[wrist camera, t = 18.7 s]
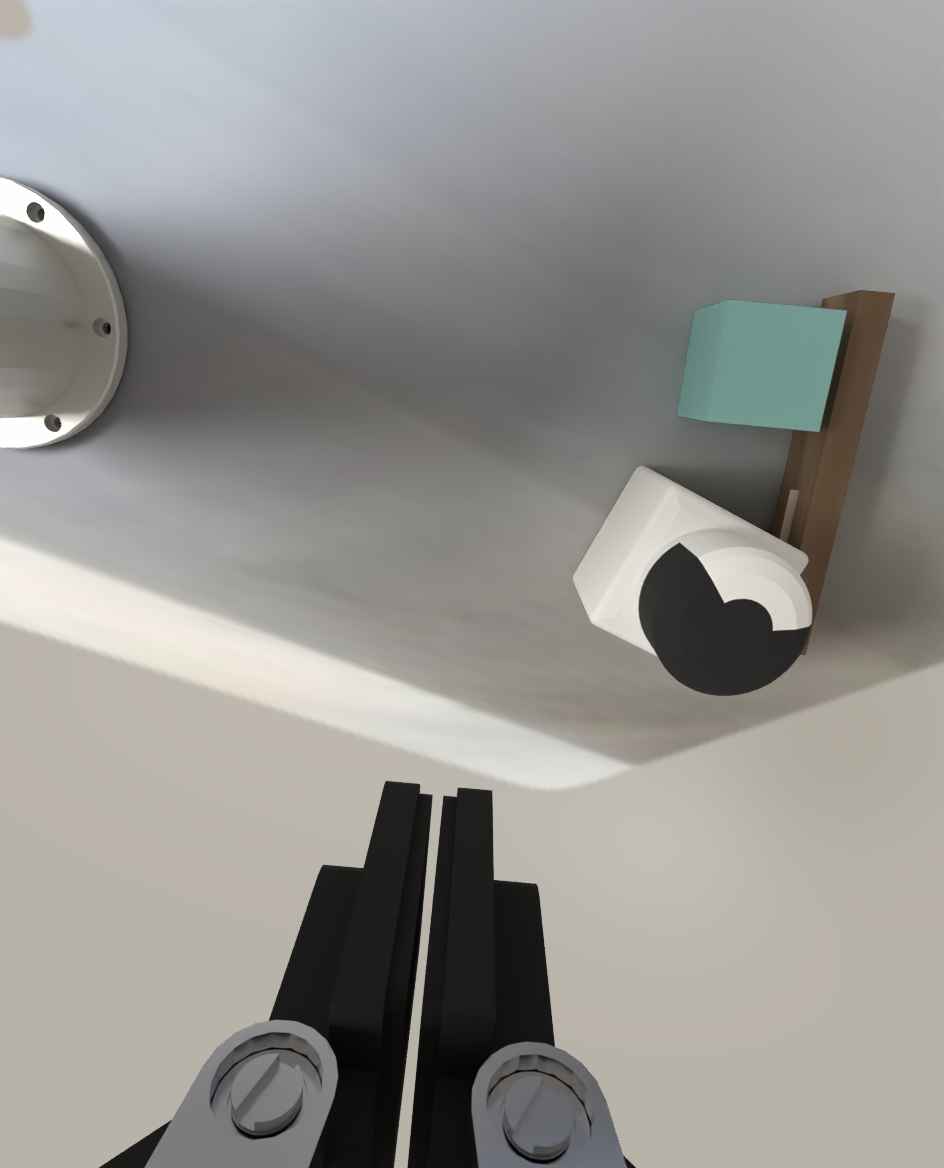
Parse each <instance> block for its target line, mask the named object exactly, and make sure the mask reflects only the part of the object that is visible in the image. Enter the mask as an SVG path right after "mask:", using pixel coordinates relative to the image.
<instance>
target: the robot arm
mask: <svg viewBox="0 0 944 1168" xmlns="http://www.w3.org/2000/svg"><path fill="white" fill-rule="evenodd" d="M44 213H45V219H44V218H43V214H44ZM109 324H110V327H111V332H110V333H109V332H108V330H107V326H108V325H109ZM126 354H127V320H126V314H125V309H124V303H123V298H122V295H121V292H120V290H119V287H118V284H117V281H116V279H115V276H114V273H113V271H112V269H111V267H110V266H109V264H108V262H107V260H106V258H105V257H104V255H103V253H102V251H101V249H100V248H99V246H98V245H97V244H96V242H95V241H94V240H93V239H92V237H91V236H90V235H89V234H88V232H87V231H86V230H85V229H84V227H83V226H82V225H81V224H80V223H79V222H78V221H77V220H76V219H75V218H74V217H72V216H71V215H70V214H69V213H68V212H67V211H66V210H65V209H64V208H63V207H61V206H60V205H59V204H57V203H56V202H54V201H53V200H51V199H49V198H48V197H46V196H45V195H43V194H42V193H40V192H39V191H37V190H35V189H32V188H30V187H28V186H26V185H23V184H21V183H19V182H17V181H15V180H12V179H9V178H6V177H2V176H0V449H28V448H35V447H41V446H47V445H50V444H53V443H56V442H60V441H63V440H66V439H68V438H70V437H72V436H73V435H75V434H77V433H78V432H80V431H82V430H84V429H85V428H87V427H88V426H89V425H90V424H91V423H92V422H93V421H94V420H95V419H96V418H97V417H98V416H99V415H100V414H101V413H102V412H103V411H104V409H105V408H106V406H107V405H108V403H109V402H110V400H111V399H112V397H113V396H114V394H115V392H116V389H117V387H118V384H119V382H120V379H121V377H122V374H123V370H124V365H125V360H126ZM59 420H61V423H62V426H61V425H60V422H59ZM431 808H432V795H429V794H420V784H414V783H402V782H392V781H386V782H385V785H384V788H383V792H382V796H381V800H380V805H379V808H378V812H377V816H376V820H375V824H374V829H373V832H372V836H371V840H370V844H369V848H368V852H367V856H366V861H365V865H364V868H354V867H343V866H331V865H323V866H322V867H321V870H320V872H319V874H318V877H317V880H316V883H315V886H314V889H313V892H312V895H311V898H310V901H309V903H308V906H307V909H306V913H305V915H304V918H303V921H302V924H301V927H300V930H299V933H298V936H297V939H296V942H295V945H294V948H293V951H292V954H291V957H290V960H289V963H288V965H287V969H286V971H285V974H284V977H283V980H282V984H281V987H280V989H279V992H278V995H277V998H276V1001H275V1004H274V1007H273V1010H272V1013H271V1016H270V1019H269V1021H267V1022H262V1023H256V1024H254V1025H251V1026H249V1027H247V1028H245V1029H243V1030H241V1031H239V1032H237V1033H235V1034H233V1035H232V1036H231V1037H230V1038H228V1039H227V1040H226V1041H225V1042H224V1043H222V1044H221V1045H220V1046H218V1047H217V1048H216V1050H215V1051H214V1052H213V1054H212V1055H211V1056H210V1058H209V1059H208V1060H207V1062H206V1063H205V1064H204V1065H203V1067H202V1069H201V1070H200V1072H199V1074H198V1076H197V1077H196V1079H195V1081H194V1083H193V1084H192V1086H191V1088H190V1090H189V1091H188V1093H187V1095H186V1096H185V1098H184V1100H183V1102H182V1104H181V1105H180V1107H179V1109H178V1110H177V1112H176V1114H175V1116H174V1117H173V1119H172V1120H171V1121H169V1122H168V1123H166V1124H165V1125H163V1126H162V1127H160V1128H159V1129H157V1130H155V1131H154V1132H152V1133H151V1134H150V1135H148V1136H146V1137H145V1138H143V1139H142V1140H140V1141H139V1142H137V1143H136V1144H134V1145H133V1146H131V1147H130V1148H128V1149H127V1150H125V1151H124V1152H122V1153H120V1154H119V1155H118V1156H116V1157H114V1158H113V1159H111V1160H110V1161H108V1162H107V1163H105V1164H104V1165H102V1166H101V1167H99V1168H394V1161H395V1153H396V1144H397V1134H398V1127H399V1118H400V1110H401V1101H402V1092H403V1084H404V1075H405V1067H406V1058H407V1050H408V1041H409V1033H410V1032H409V1031H410V1024H411V1016H412V1007H413V998H414V990H415V981H416V972H417V964H418V955H419V945H420V935H421V924H422V912H423V900H424V889H425V877H426V865H427V854H428V843H429V831H430V819H431ZM493 870H494V868H493V806H492V791H491V790H480V789H469V788H458V791H457V797H451V796H443V806H442V817H441V826H440V836H439V846H438V856H437V865H436V875H435V885H434V895H433V905H432V915H431V926H430V935H429V944H428V955H427V964H426V974H425V985H424V995H423V1004H422V1015H421V1025H420V1037H419V1047H418V1058H417V1070H416V1081H415V1091H414V1102H413V1114H412V1125H411V1136H410V1147H409V1158H408V1168H636V1167H635V1166H633V1164H631V1163H630V1162H629V1161H628V1160H627V1159H626V1158H625V1157H624V1156H623V1153H622V1150H621V1147H620V1144H619V1140H618V1137H617V1134H616V1131H615V1128H614V1125H613V1121H612V1118H611V1115H610V1112H609V1108H608V1105H607V1102H606V1100H605V1097H604V1095H603V1093H602V1091H601V1089H600V1087H599V1085H598V1082H597V1081H596V1079H595V1078H594V1077H593V1076H592V1074H591V1073H590V1072H589V1071H588V1070H587V1068H586V1067H585V1066H584V1065H583V1064H582V1063H581V1062H579V1061H578V1060H577V1059H575V1058H574V1057H573V1056H571V1055H570V1054H568V1053H567V1052H566V1051H564V1050H561V1049H559V1048H556V1047H555V1043H554V1034H553V1024H552V1014H551V1004H550V994H549V985H548V976H547V966H546V956H545V947H544V937H543V928H542V918H541V908H540V898H539V891H538V886H537V885H536V884H532V883H521V882H510V881H499V880H494V871H493Z"/></svg>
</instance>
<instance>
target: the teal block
mask: <svg viewBox="0 0 944 1168" xmlns="http://www.w3.org/2000/svg"><path fill="white" fill-rule="evenodd" d="M846 313H847V311H845V310H835V309H824V308H814V307H803V306H792V305H782V304H771V303H761V302H750V301H740V300H726V301H723V302H720V303H716V304H713V305H710V306H707V307H704V308H701V309H698V310H695V311H694V317H693V323H692V328H691V334H690V340H689V346H688V352H687V358H686V364H685V370H684V375H683V381H682V387H681V393H680V399H679V405H678V411H677V416H681V417H686V418H691V419H697V420H702V421H708V422H718V423H729V424H740V425H751V426H761V427H772V428H783V429H794V430H804V431H815V432H819V431H820V426H821V422H822V418H823V413H824V409H825V405H826V400H827V396H828V392H829V387H830V383H831V379H832V374H833V370H834V365H835V361H836V357H837V352H838V348H839V344H840V339H841V335H842V331H843V326H844V322H845V318H846Z"/></svg>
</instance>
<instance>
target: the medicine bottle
mask: <svg viewBox="0 0 944 1168" xmlns="http://www.w3.org/2000/svg"><path fill="white" fill-rule="evenodd" d="M807 564H808V557H807V555H806V554H805V553H804V552H802V551H800V550H798V549H796V548H795V547H793V546H791V545H789V544H787V543H785V542H784V541H782V540H780V539H778V538H776V537H774V536H773V535H771V534H769V533H767V532H765V531H763V530H762V529H760V528H758V527H756V526H754V525H752V524H751V523H749V522H747V521H745V520H743V519H741V518H740V517H738V516H736V515H734V514H732V513H730V512H728V511H727V510H725V509H723V508H721V507H719V506H717V505H716V504H714V503H712V502H710V501H708V500H706V499H705V498H703V497H701V496H699V495H697V494H695V493H694V492H692V491H690V490H688V489H686V488H684V487H682V486H681V485H679V484H677V483H675V482H673V481H671V480H670V479H668V478H666V477H664V476H662V475H660V474H659V473H657V472H655V471H653V470H651V469H649V468H648V467H646V466H639V467H637V468H636V470H635V471H634V473H633V475H632V476H631V478H630V480H629V481H628V483H627V485H626V487H625V488H624V490H623V492H622V493H621V495H620V497H619V498H618V500H617V502H616V504H615V505H614V507H613V509H612V510H611V512H610V514H609V516H608V517H607V519H606V521H605V522H604V524H603V526H602V527H601V529H600V531H599V533H598V534H597V536H596V538H595V539H594V541H593V543H592V544H591V546H590V548H589V550H588V551H587V553H586V555H585V556H584V558H583V560H582V562H581V563H580V565H579V567H578V568H577V570H576V572H575V573H574V575H573V582H574V584H575V586H576V589H577V591H578V593H579V596H580V598H581V600H582V603H583V605H584V607H585V609H586V612H587V614H588V616H589V619H590V621H591V622H592V623H593V624H594V625H596V626H598V627H600V628H602V629H604V630H606V631H608V632H610V633H611V634H613V635H615V636H617V637H619V638H621V639H623V640H625V641H627V642H629V643H631V644H633V645H635V646H637V647H639V648H641V649H643V650H645V651H647V652H649V653H651V654H653V655H655V656H657V657H658V658H659V659H660V661H661V662H662V664H663V666H664V667H665V668H666V669H667V671H668V672H669V673H670V674H671V675H672V676H673V677H674V678H675V679H676V680H678V681H679V682H680V683H682V684H684V685H685V686H687V687H689V688H691V689H693V690H695V691H698V692H702V693H705V694H710V695H718V696H730V695H739V694H743V693H748V692H751V691H754V690H757V689H759V688H761V687H763V686H765V685H768V684H769V683H771V682H772V681H774V680H776V679H777V678H778V677H780V676H781V675H782V674H783V673H784V672H786V671H787V670H788V669H789V668H790V666H791V665H792V664H793V663H794V662H795V661H796V659H797V658H798V656H799V655H800V654H801V652H802V650H803V648H804V646H805V644H806V642H807V639H808V636H809V633H810V629H811V624H812V604H811V599H810V595H809V592H808V590H807V587H806V585H805V583H804V581H803V580H802V578H801V576H800V574H801V573H802V571H803V570H804V568H805V567H806V565H807Z"/></svg>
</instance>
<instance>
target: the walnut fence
mask: <svg viewBox="0 0 944 1168" xmlns="http://www.w3.org/2000/svg"><path fill="white" fill-rule="evenodd" d="M894 296H895V293H886V292H876V291H866V290H859V291H855V292H851V293H846V294H842V295H838V296H834V297H830V298H825V299H823V301H822V306H821V308H824V309H835V310H845V311H847V313H846V318H845V322H844V326H843V331H842V335H841V339H840V344H839V348H838V352H837V357H836V361H835V365H834V370H833V374H832V379H831V383H830V387H829V392H828V396H827V400H826V405H825V409H824V413H823V418H822V422H821V426H820V431H819V432H815V431H804V430H794V432H793V437H792V441H791V446H790V450H789V455H788V460H787V464H786V469H785V473H784V478H783V482H782V487H781V491H780V496H779V500H778V505H777V509H776V514H775V518H774V523H773V527H772V532H771V535H773V536H774V537H776V538H778V539H780V540H782V541H784V542H785V543H787V544H789V545H791V546H793V547H795V548H796V549H798V550H800V551H802V552H804V553H805V554H806V555H807V557H808V564H807V565H806V567H805V568H804V570H803V571H802V573H801V574H800V576H801V578H802V580H803V581H804V583H805V585H806V587H807V590H808V592H809V595H810V599H811V604H812V624H811V629H810V633H809V636H808V639H807V642H806V644H805V646H804V648H803V650H802V652H801V655H805V654H806V650H807V646H808V642H809V638H810V634H811V630H812V626H813V622H814V618H815V614H816V610H817V606H818V601H819V597H820V593H821V589H822V585H823V581H824V577H825V573H826V569H827V565H828V561H829V557H830V553H831V549H832V545H833V541H834V537H835V533H836V529H837V525H838V521H839V517H840V513H841V509H842V505H843V501H844V497H845V493H846V489H847V485H848V481H849V477H850V473H851V469H852V465H853V461H854V457H855V453H856V449H857V445H858V441H859V437H860V432H861V428H862V424H863V420H864V416H865V412H866V408H867V404H868V400H869V396H870V392H871V388H872V384H873V380H874V376H875V372H876V368H877V364H878V360H879V356H880V352H881V348H882V344H883V340H884V336H885V332H886V328H887V324H888V320H889V316H890V312H891V308H892V304H893V300H894Z"/></svg>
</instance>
